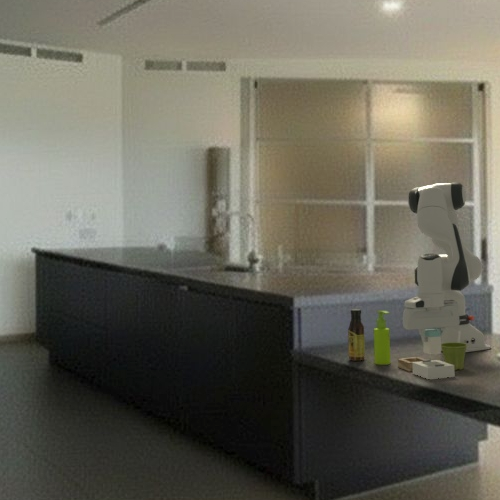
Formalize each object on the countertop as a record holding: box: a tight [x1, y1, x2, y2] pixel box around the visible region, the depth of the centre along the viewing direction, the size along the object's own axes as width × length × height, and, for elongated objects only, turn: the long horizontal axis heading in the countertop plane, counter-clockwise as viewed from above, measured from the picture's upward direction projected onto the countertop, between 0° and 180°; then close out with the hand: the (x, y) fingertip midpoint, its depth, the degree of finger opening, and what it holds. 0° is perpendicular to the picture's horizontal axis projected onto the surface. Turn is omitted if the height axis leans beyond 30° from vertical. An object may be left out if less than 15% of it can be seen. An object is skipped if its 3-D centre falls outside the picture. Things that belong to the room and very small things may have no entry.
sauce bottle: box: [347, 308, 366, 362], centre depth 294 cm, size 6×6×20 cm
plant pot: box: [441, 343, 467, 371], centre depth 271 cm, size 9×9×9 cm
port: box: [412, 359, 456, 380], centre depth 261 cm, size 10×11×4 cm
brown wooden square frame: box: [397, 356, 427, 372], centre depth 274 cm, size 9×10×3 cm
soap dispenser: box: [373, 310, 391, 366], centre depth 285 cm, size 6×7×20 cm
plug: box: [422, 328, 442, 356], centre depth 260 cm, size 4×5×8 cm
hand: (431, 341), depth 260 cm, fingers closed on plug, 4 cm apart
